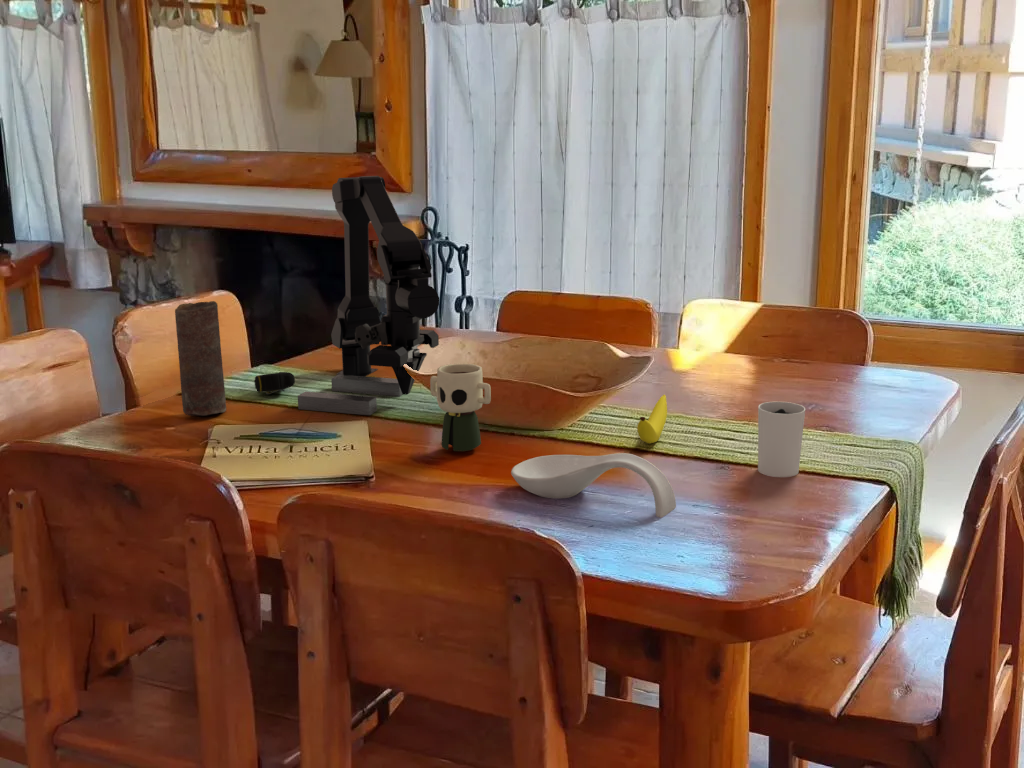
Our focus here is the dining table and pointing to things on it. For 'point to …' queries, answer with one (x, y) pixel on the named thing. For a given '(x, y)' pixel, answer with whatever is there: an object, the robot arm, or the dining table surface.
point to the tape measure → (274, 382)
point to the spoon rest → (588, 476)
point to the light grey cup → (780, 438)
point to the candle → (200, 358)
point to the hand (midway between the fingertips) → (405, 394)
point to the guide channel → (350, 402)
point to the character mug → (460, 403)
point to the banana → (653, 422)
